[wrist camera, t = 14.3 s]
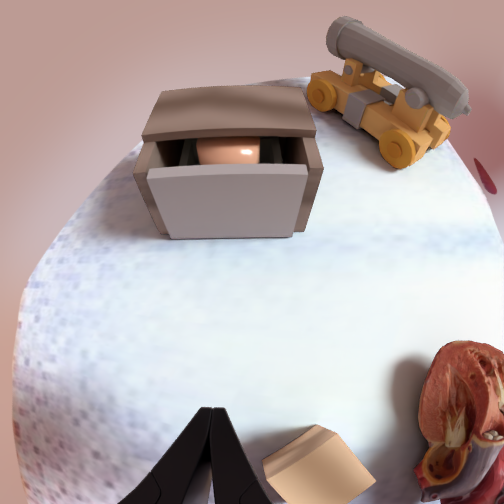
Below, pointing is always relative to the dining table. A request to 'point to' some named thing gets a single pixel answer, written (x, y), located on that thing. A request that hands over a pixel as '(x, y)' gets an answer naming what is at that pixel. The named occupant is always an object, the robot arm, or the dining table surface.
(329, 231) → the dining table surface
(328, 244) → the dining table surface
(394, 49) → the toy cannon
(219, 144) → the tan rounded cylinder
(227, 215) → the drawer
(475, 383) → the anatomical model
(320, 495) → the block
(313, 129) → the housing
